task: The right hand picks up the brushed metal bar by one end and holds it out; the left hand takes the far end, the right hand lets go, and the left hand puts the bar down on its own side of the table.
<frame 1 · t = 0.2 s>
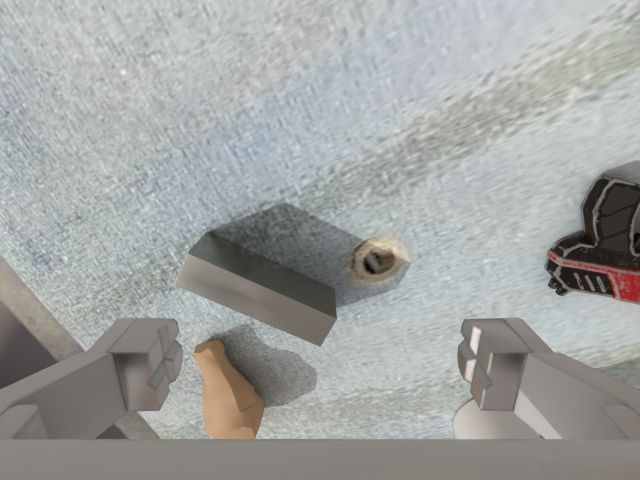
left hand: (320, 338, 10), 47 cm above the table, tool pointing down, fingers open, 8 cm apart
squash: (229, 377, 69), on the table
bar: (266, 274, 62), on the table
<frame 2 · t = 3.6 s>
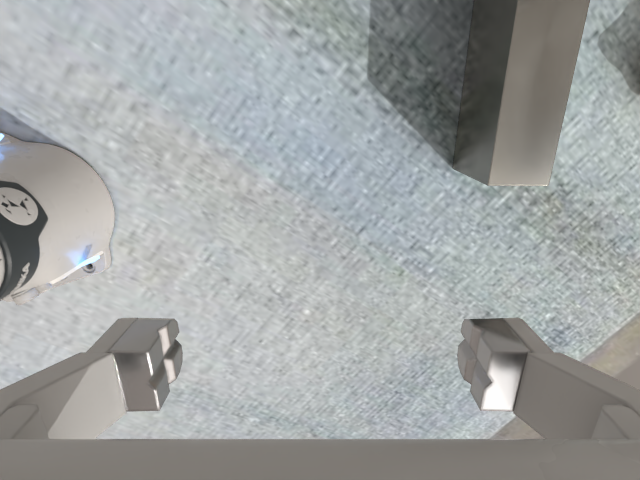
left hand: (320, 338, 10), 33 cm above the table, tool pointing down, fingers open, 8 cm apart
bar: (493, 54, 37), on the table, touching right hand
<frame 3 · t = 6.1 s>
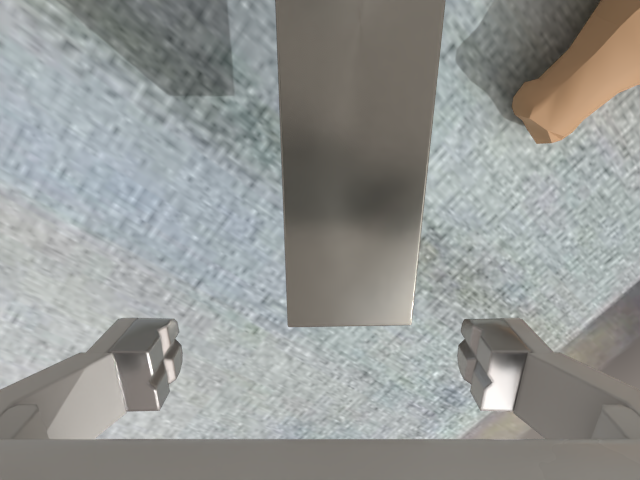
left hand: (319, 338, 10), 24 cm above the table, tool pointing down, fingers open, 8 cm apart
squash: (612, 38, 30), on the table
bar: (338, 56, 21), point 10 cm above the table, touching right hand
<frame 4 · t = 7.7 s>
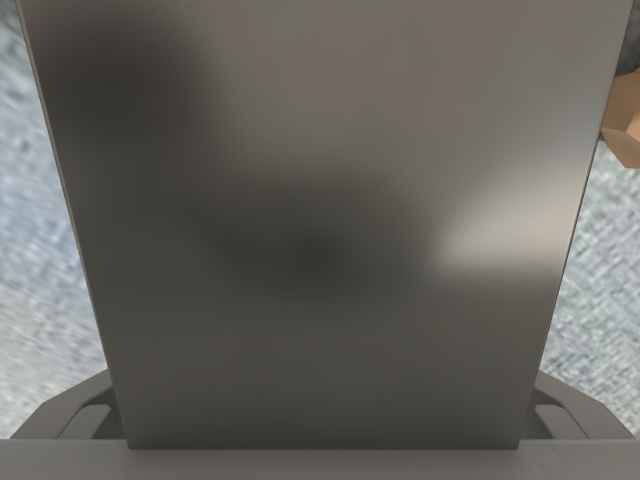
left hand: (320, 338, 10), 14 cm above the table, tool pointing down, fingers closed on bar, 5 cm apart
bar: (321, 26, 11), point 10 cm above the table, touching left hand, right hand
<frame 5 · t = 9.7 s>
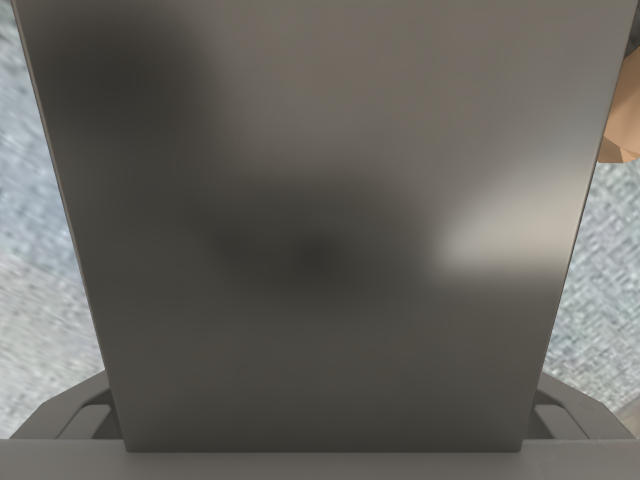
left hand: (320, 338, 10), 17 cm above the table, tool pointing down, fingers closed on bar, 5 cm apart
bar: (321, 25, 11), point 12 cm above the table, touching left hand
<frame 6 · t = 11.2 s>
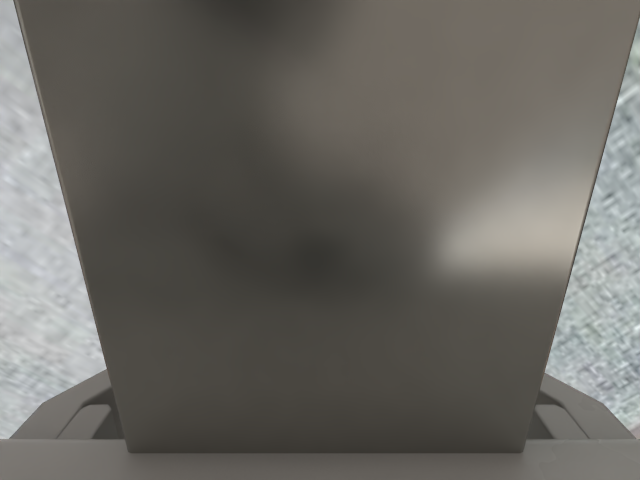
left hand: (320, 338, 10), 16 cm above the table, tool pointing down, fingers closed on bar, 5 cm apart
bar: (322, 26, 11), point 12 cm above the table, touching left hand
when the left hand's fingers open (6 cm above the table, at t = 15.0 s): bar stays where it is, on the table.
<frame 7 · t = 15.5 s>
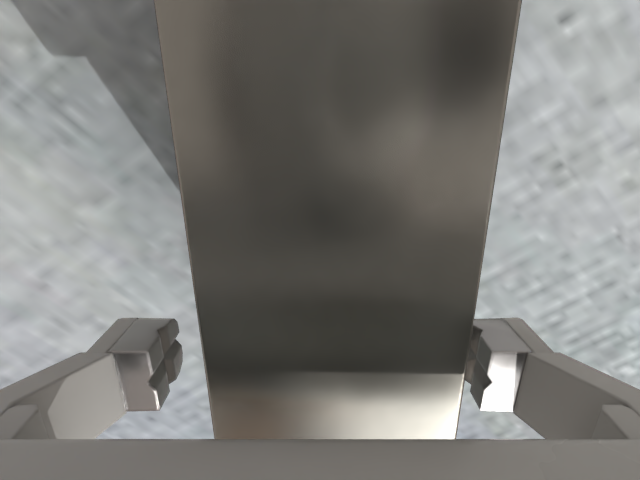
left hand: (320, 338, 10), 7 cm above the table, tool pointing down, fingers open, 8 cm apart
bar: (328, 69, 14), on the table
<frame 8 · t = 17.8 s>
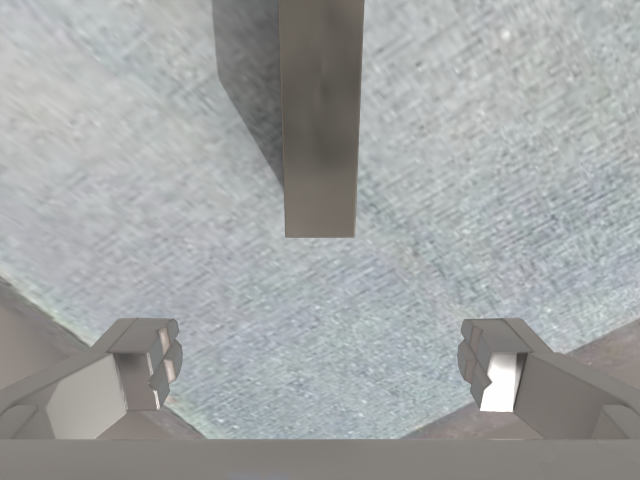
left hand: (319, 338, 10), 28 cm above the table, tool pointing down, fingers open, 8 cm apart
bar: (320, 83, 33), on the table
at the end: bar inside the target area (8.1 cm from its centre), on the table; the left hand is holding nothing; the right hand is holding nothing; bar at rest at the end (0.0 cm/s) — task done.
